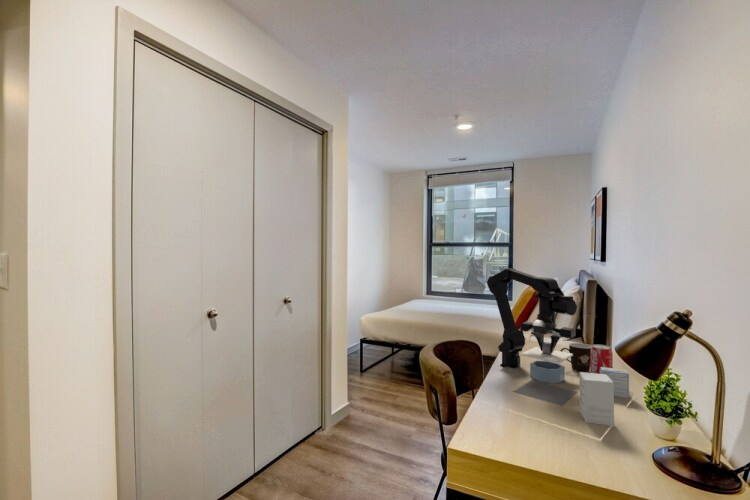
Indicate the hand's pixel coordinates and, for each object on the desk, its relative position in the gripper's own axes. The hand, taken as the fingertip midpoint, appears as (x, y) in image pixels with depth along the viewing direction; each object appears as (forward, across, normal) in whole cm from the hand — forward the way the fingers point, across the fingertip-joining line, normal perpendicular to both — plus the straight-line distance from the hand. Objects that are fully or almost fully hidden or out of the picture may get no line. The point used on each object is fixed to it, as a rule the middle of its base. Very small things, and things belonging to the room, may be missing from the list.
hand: (546, 351), depth 140 cm
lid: (+2, 0, 0) cm, 2 cm away
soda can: (+10, +15, +13) cm, 23 cm away
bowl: (+10, 0, 0) cm, 11 cm away
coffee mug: (+11, +4, +21) cm, 24 cm away
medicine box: (+10, +22, 0) cm, 24 cm away
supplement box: (+10, +23, -25) cm, 36 cm away
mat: (+10, +5, -15) cm, 19 cm away
